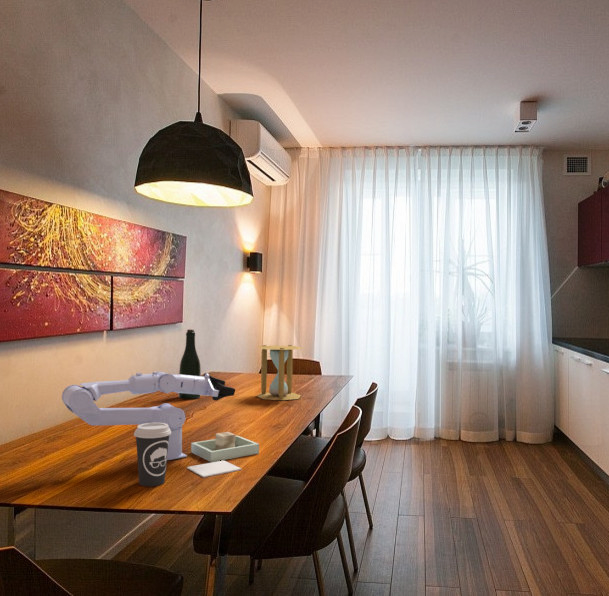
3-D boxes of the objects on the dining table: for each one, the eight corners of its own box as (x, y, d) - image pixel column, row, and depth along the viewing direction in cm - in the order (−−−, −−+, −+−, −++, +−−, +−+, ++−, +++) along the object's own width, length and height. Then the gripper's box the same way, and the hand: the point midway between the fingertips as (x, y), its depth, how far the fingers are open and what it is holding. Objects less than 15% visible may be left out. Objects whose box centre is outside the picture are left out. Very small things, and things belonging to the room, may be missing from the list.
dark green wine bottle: (177, 396, 278) (178, 328, 278) (199, 395, 282) (200, 328, 281) (179, 400, 268) (180, 330, 268) (201, 399, 271) (203, 330, 271)
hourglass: (254, 393, 291) (254, 344, 291) (297, 392, 295) (298, 344, 295) (258, 401, 268) (259, 348, 268) (305, 400, 272) (306, 348, 272)
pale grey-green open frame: (210, 462, 169) (211, 452, 169) (191, 452, 180) (191, 442, 180) (258, 453, 180) (259, 443, 180) (237, 444, 190) (237, 435, 190)
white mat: (203, 477, 155) (203, 476, 155) (187, 468, 163) (187, 467, 163) (241, 469, 162) (241, 468, 162) (223, 461, 170) (223, 460, 170)
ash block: (222, 455, 177) (222, 436, 177) (215, 452, 180) (215, 433, 180) (234, 453, 179) (235, 434, 179) (227, 450, 183) (228, 431, 183)
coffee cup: (173, 476, 155) (174, 422, 155) (166, 488, 146) (167, 430, 146) (138, 476, 155) (139, 421, 155) (128, 488, 145) (129, 429, 145)
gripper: (202, 379, 172) (241, 383, 180) (185, 365, 184) (223, 369, 192) (197, 401, 173) (236, 404, 180) (180, 386, 185) (217, 389, 192)
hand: (229, 388), depth 186 cm, fingers open, 7 cm apart
